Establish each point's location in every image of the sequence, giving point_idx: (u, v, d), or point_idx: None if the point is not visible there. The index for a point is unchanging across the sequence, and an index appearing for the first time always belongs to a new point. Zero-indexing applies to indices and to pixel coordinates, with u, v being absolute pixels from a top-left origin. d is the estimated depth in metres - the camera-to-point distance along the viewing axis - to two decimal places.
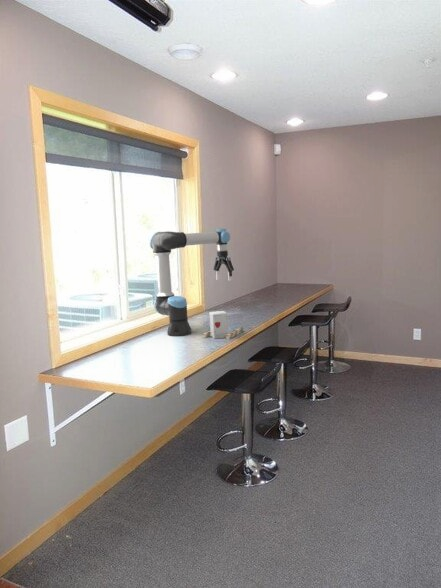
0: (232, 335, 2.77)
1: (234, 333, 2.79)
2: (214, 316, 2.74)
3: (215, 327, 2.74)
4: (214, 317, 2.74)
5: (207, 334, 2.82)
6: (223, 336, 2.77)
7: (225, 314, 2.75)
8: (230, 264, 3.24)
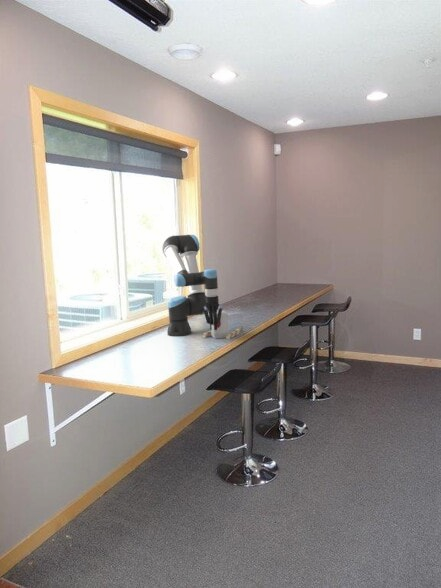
0: (232, 335, 2.77)
1: (234, 333, 2.79)
2: None
3: None
4: None
5: (207, 334, 2.82)
6: (223, 336, 2.77)
7: (225, 314, 2.76)
8: (219, 316, 2.70)
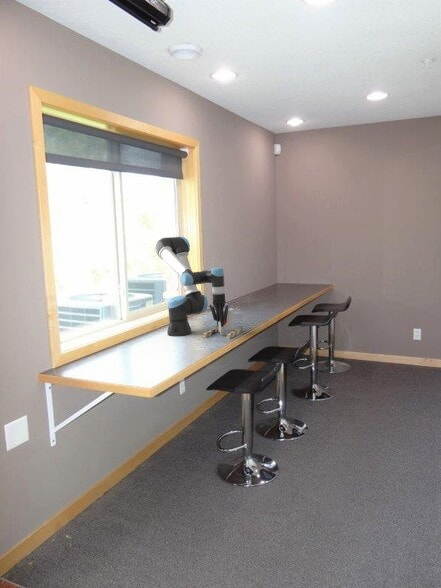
0: (232, 335, 2.77)
1: (234, 333, 2.79)
2: None
3: None
4: None
5: (207, 334, 2.82)
6: None
7: (232, 311, 2.83)
8: (226, 313, 2.79)
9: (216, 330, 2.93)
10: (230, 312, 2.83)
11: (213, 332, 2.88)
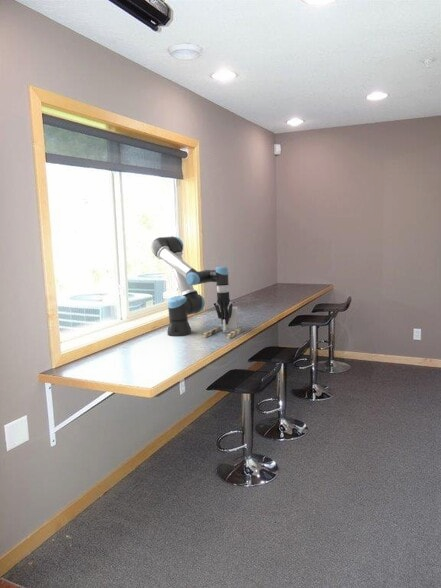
0: (232, 335, 2.77)
1: (234, 333, 2.79)
2: None
3: None
4: None
5: (207, 334, 2.82)
6: None
7: (234, 310, 2.87)
8: (230, 311, 2.84)
9: (216, 330, 2.93)
10: (232, 311, 2.87)
11: (213, 332, 2.88)
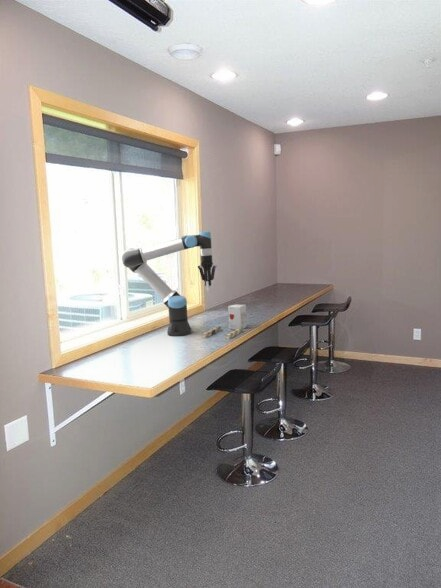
0: (232, 335, 2.77)
1: (234, 333, 2.79)
2: (229, 308, 2.98)
3: (229, 318, 2.99)
4: (229, 309, 2.98)
5: (207, 334, 2.82)
6: (236, 328, 2.97)
7: (238, 308, 2.95)
8: (213, 273, 3.04)
9: (216, 330, 2.93)
10: (237, 308, 2.95)
11: (213, 332, 2.88)
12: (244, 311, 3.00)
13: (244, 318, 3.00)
